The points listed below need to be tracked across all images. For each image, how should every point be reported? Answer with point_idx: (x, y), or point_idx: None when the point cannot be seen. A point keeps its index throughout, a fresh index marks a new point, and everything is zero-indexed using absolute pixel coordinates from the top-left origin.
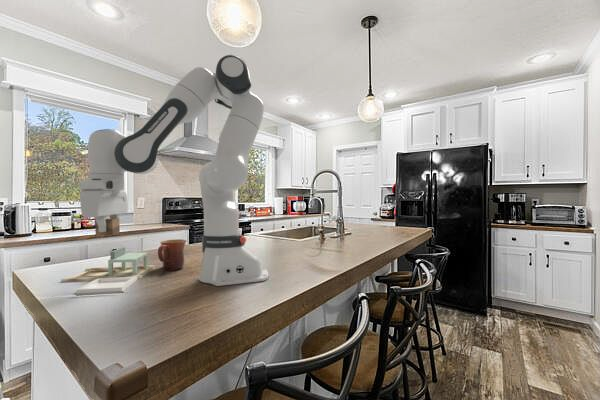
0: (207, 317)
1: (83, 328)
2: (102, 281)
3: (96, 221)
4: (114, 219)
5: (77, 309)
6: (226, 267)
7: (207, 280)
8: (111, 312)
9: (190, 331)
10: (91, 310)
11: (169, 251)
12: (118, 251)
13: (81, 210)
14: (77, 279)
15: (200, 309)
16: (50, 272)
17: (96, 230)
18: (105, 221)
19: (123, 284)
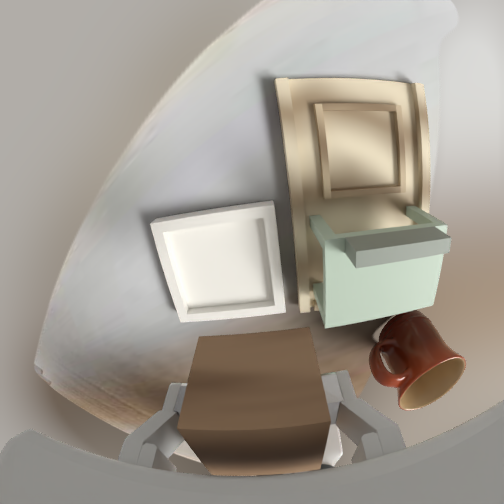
0: (124, 417)
1: (57, 324)
2: (264, 223)
3: (132, 434)
4: (243, 473)
5: (92, 279)
6: None
7: None
8: (98, 335)
9: (94, 406)
10: (95, 304)
11: (397, 372)
12: (390, 259)
13: (3, 449)
14: (282, 129)
15: (141, 414)
16: None
17: (195, 364)
18: (171, 454)
19: (203, 315)
